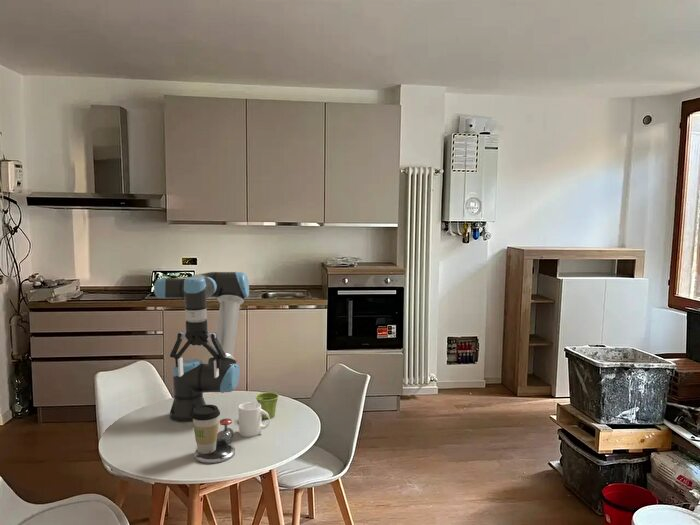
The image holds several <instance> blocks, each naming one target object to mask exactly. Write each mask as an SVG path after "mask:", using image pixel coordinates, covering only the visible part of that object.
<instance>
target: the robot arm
mask: <svg viewBox="0 0 700 525" xmlns="http://www.w3.org/2000/svg"><path fill="white" fill-rule="evenodd" d="M153 285H154V286H153V292H154V295H155V296H156V298H158V299H184V314H185V320H186V321H185V332H184V331H179V332H178V333H177V336H176V337H177V338H176V341H175V343H174V346H173V348H172V350H171V351H170V355H169V357H170V358H174V360H175V361H174V362H175V365H174V366H173V372H172V379H173V380H172V382H173V383H172V384H173V401H172V403H171V408H170V411H169V418H170V419H171V421H174V422H177V423H178V422H179V423H189V422H190V423H191V422H193V418H192V417H191V414H192V412H193V409H194V408H196V407H198V406H201V405H207V403H206V401H205V398H204V394H203V393H222V394H224V393H232V392H233V391H234V390H236V388H237V386H238V384H239V379H240V375H241V373H240V371H241V368H240V365H239V364H237V359H236V358H235V355H234V354H235V348H236V338H237V331H238V323H239V314H240V306H241V305H243V304H244V302H245V299H247V298H249V296H250V285H249V279H248V276H247V274H246V273H245V272H242V271H240V272H239V271H209V272H204V273H199V274H195V275H192V276H189V277H187V276H186V277H176V278H175V277H174V278H173V277H171V278H165V277H163V278H157V279H156V280H155V282H154V284H153ZM208 298H217V299H216V300H217V302H219V312H218V317H217V324H216V331H214V332H212V333H209V332H208V320H207V319H208V313H207V312H208V311H207V299H208ZM184 338H186V340H187V341H186V342H185V343H184V345H183V346H182V348H181V349H180V350H179V348H180V347H181V343H182V341H183V339H184ZM208 338H209V339H210V340H211V342H212V344H211V343H210V341H209V339H208ZM190 345H192V346H199V347H200V346H202V347H204V348H205V350H207V351H208V352H209V354H210V355H211V356H210V357H209V358H208V361H207V362H208V363H203V361H202V359H201V358H192V359H191V358H190V359H186V360H183V358H184V357H182V355H183V354H185V353H184V352H186V351H187V350H188V348H189V347H190ZM178 350H179V351H178Z"/></svg>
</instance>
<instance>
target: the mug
mask: <svg viewBox="0 0 700 525" xmlns="http://www.w3.org/2000/svg"><path fill="white" fill-rule="evenodd" d="M261 414H264V415H266V416H267V417H268V418H267V419H268V422H267V424H263V423H262V418H261ZM270 422H271V418H270V417H269V415H268V413H267V412H266V411H264V410H263V409H261V404H260V403H258V401H256V402H255V401H249V402H244V403H241V404H239V405H238V433H239V434H240V435H241V436H243V437H251V438H252V437H256V436H258V435H260V434H261V432H262V430H265V429H267V428H268V427H269V426H270Z"/></svg>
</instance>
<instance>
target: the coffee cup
mask: <svg viewBox="0 0 700 525" xmlns="http://www.w3.org/2000/svg"><path fill="white" fill-rule="evenodd" d="M220 415H221V412H220V409H219V407H218V406H217V405H215V404H206V405H201V406H198V407H196V408H194V409H193V412H192V414H191V417H192V418H193V421H192V422H193V423H192V426H193V430H194V431H193V432H194V438H195V443H196V447H197V449H198V452H199V453H202V454H208V453H212V452H214V451H215V450H216V440H217V434H218V433H219V424H220V420H219V417H220ZM197 449H196V450H197Z"/></svg>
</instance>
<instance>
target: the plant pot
mask: <svg viewBox="0 0 700 525" xmlns="http://www.w3.org/2000/svg"><path fill="white" fill-rule="evenodd" d="M279 397H280V396H279V394H278V393H276V392H263V393H262V392H261V393H259V394H256V396H255V399H256V402H257V403H260V404H261V409H263V410H264V411H266V412H267V413H268V415H269V417H270V419H272V417H273V418H274V417H275V416H276V408H277V402H278V398H279ZM265 418H267V419H268V417H267V416H266V415H264V414H261V419H265Z"/></svg>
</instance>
